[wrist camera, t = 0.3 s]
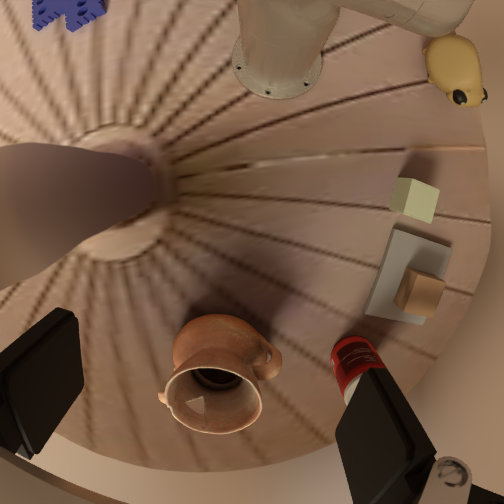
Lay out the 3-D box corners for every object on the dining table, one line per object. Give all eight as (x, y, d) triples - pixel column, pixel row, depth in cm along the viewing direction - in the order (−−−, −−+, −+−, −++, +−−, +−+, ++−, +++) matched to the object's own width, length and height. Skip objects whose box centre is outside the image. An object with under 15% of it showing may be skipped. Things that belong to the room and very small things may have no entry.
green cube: (396, 177, 42) (412, 178, 37) (422, 187, 42) (439, 190, 37) (388, 209, 43) (403, 213, 38) (414, 218, 43) (430, 223, 38)
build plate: (392, 227, 44) (395, 228, 43) (449, 247, 44) (452, 248, 43) (363, 311, 47) (365, 314, 46) (420, 322, 48) (422, 325, 47)
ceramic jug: (191, 390, 51) (178, 447, 37) (155, 322, 47) (127, 373, 34) (289, 364, 50) (301, 423, 36) (263, 289, 46) (269, 337, 32)
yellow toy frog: (427, 113, 39) (466, 102, 29) (406, 45, 36) (438, 21, 26) (469, 111, 38) (509, 103, 28) (450, 47, 36) (484, 29, 25)
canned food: (351, 378, 50) (369, 418, 40) (319, 360, 49) (333, 401, 38) (380, 347, 49) (405, 384, 38) (349, 326, 48) (371, 363, 37)
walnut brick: (406, 266, 44) (417, 274, 40) (434, 274, 44) (446, 282, 40) (393, 301, 45) (403, 312, 42) (421, 307, 46) (432, 317, 42)
